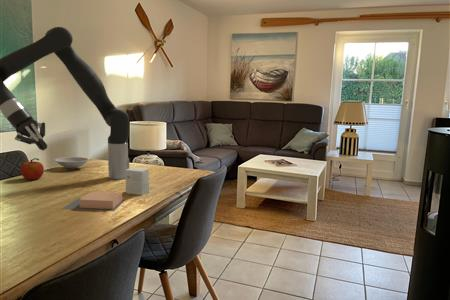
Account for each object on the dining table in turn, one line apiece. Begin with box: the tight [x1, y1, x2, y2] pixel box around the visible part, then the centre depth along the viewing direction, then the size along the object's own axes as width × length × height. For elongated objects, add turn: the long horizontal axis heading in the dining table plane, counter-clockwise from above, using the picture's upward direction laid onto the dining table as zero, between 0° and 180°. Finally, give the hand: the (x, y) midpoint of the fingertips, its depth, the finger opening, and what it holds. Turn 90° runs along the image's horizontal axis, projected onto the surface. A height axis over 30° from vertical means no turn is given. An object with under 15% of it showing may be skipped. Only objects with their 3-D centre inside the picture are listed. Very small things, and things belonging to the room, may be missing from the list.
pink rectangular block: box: [79, 191, 123, 209], centre depth 128 cm, size 3×10×12 cm
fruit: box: [20, 157, 45, 181], centre depth 163 cm, size 10×10×10 cm
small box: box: [125, 167, 150, 196], centre depth 144 cm, size 8×6×10 cm
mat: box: [61, 197, 126, 212], centre depth 128 cm, size 18×13×1 cm
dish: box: [54, 156, 90, 170], centre depth 187 cm, size 18×14×5 cm
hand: (45, 149), depth 137 cm, fingers closed
